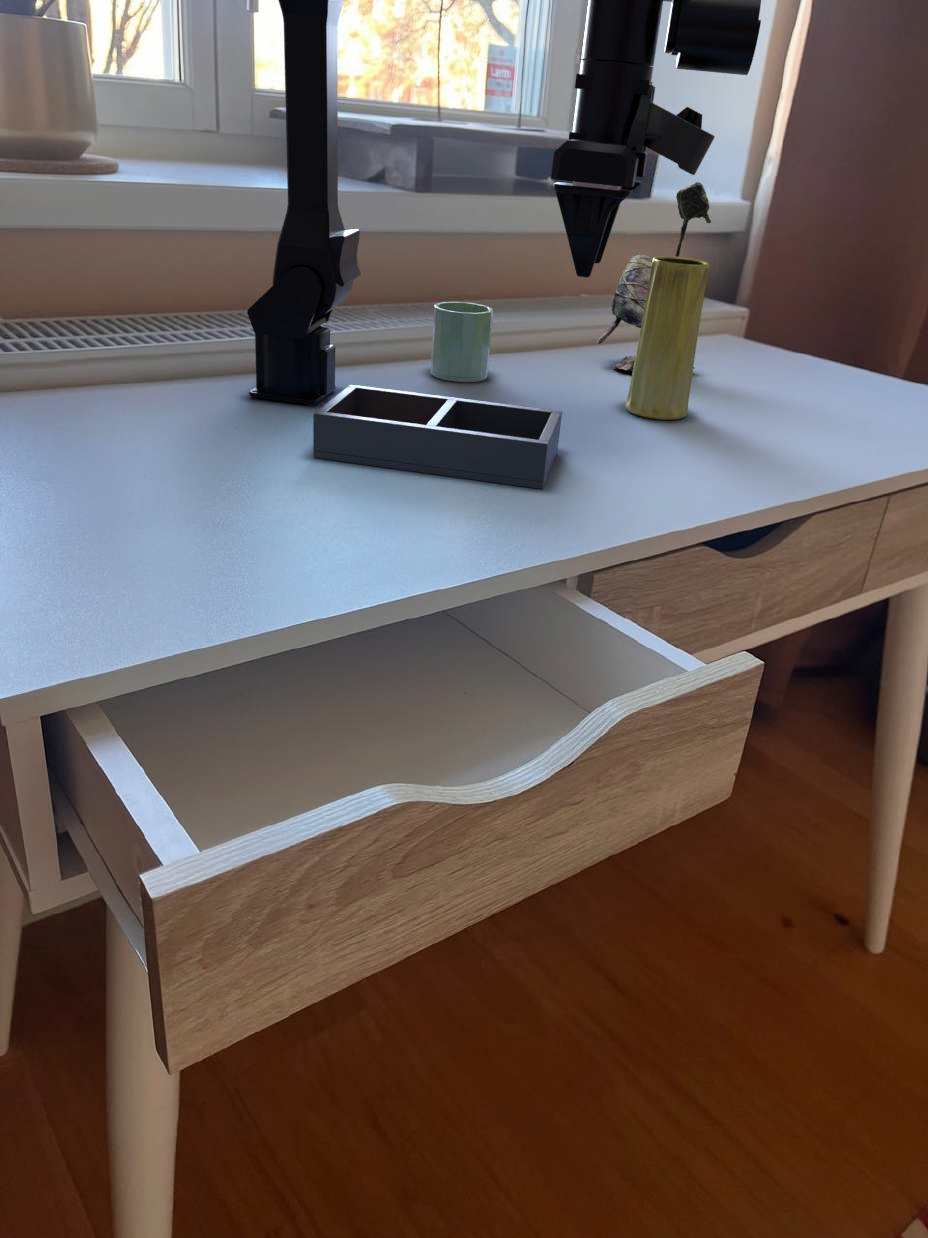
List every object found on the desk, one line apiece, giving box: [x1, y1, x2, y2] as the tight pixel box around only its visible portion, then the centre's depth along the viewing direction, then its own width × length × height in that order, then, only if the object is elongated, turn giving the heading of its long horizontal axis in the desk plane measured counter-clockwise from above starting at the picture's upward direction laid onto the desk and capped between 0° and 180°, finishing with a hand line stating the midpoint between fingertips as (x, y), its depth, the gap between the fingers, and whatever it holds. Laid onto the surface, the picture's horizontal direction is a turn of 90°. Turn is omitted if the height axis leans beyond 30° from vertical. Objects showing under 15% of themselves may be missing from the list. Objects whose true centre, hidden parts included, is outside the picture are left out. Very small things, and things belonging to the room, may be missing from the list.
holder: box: [312, 384, 563, 490], centre depth 81 cm, size 10×18×4 cm, turn 78°
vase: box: [624, 255, 710, 421], centre depth 96 cm, size 6×6×14 cm
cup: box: [430, 301, 494, 383], centre depth 105 cm, size 6×6×7 cm
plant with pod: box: [596, 181, 712, 372], centre depth 110 cm, size 8×11×20 cm
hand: (589, 269), depth 86 cm, fingers open, 9 cm apart
